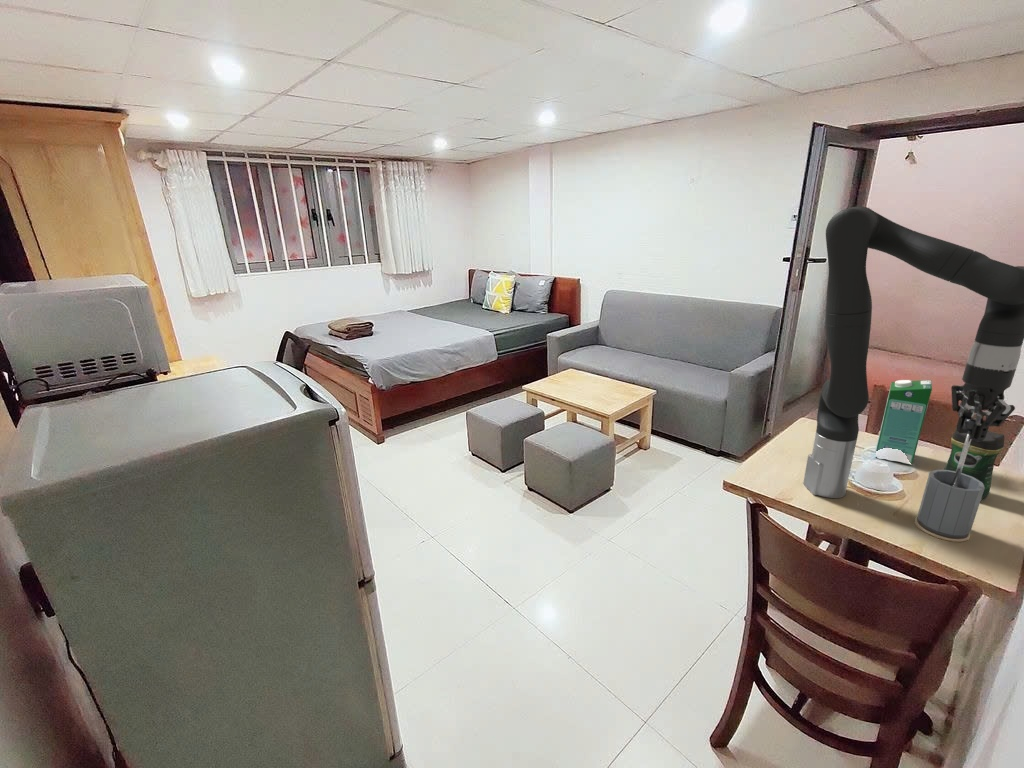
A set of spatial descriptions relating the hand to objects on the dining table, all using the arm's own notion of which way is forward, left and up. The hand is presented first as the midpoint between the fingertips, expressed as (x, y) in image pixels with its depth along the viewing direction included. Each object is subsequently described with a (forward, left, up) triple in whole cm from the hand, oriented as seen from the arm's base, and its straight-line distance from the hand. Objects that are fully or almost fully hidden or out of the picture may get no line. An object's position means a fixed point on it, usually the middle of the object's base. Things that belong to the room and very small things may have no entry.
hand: (969, 436), depth 105 cm
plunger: (0, 0, -15) cm, 15 cm away
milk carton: (+12, +37, -25) cm, 46 cm away
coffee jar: (+17, +17, -25) cm, 35 cm away
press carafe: (0, 0, -25) cm, 25 cm away
